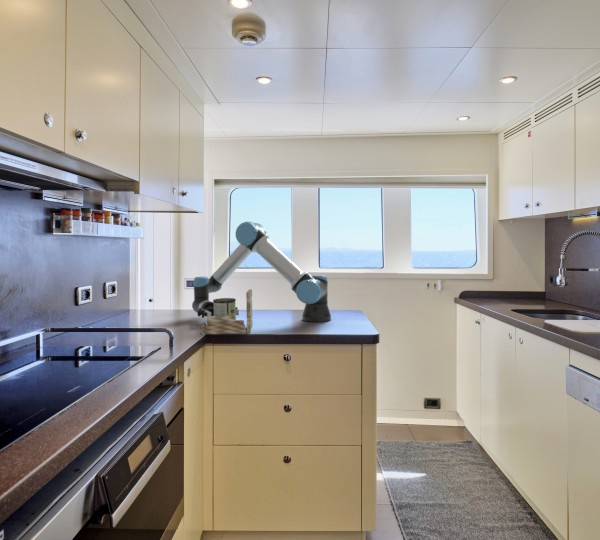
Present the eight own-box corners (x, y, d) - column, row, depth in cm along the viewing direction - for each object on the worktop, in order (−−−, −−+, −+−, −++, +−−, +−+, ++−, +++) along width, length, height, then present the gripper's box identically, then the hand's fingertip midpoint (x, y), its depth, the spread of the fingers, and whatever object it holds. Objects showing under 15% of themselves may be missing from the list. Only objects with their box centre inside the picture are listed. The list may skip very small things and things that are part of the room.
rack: (252, 326, 199) (252, 289, 198) (250, 333, 183) (249, 292, 182) (206, 327, 198) (205, 290, 197) (200, 334, 182) (199, 293, 181)
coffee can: (217, 327, 199) (216, 297, 198) (238, 327, 198) (238, 298, 197) (210, 331, 188) (210, 300, 188) (232, 331, 187) (232, 300, 187)
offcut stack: (245, 329, 185) (244, 315, 185) (244, 329, 183) (244, 316, 183) (202, 329, 184) (201, 316, 184) (201, 330, 182) (201, 317, 182)
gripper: (231, 313, 217) (248, 319, 199) (184, 318, 203) (198, 324, 185) (230, 299, 216) (248, 303, 199) (183, 303, 203) (198, 308, 185)
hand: (224, 313), depth 192 cm, fingers open, 13 cm apart
